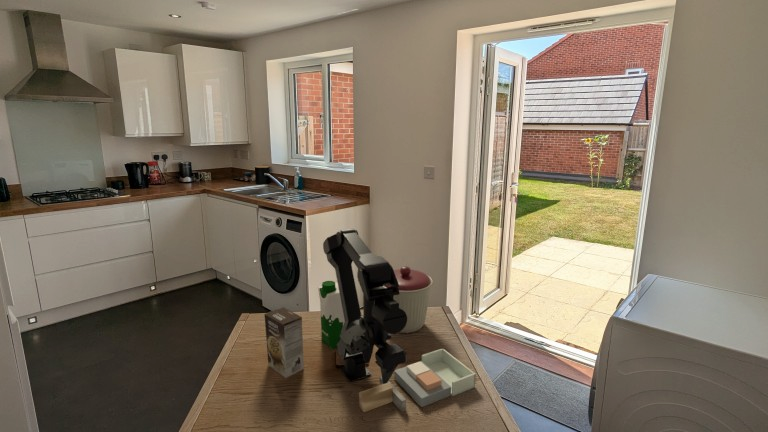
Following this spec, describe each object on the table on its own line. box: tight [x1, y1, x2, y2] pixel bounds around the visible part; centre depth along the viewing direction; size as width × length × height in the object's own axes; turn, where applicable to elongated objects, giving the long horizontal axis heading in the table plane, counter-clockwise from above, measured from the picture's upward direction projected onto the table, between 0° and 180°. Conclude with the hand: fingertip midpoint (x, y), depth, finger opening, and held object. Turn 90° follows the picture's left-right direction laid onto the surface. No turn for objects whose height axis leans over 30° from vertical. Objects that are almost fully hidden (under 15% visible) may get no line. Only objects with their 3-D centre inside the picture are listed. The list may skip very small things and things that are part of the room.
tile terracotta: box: [417, 371, 442, 391], centre depth 106 cm, size 4×4×2 cm
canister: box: [381, 266, 434, 334], centre depth 138 cm, size 18×18×21 cm
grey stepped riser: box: [393, 360, 452, 408], centre depth 108 cm, size 13×9×2 cm
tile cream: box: [405, 360, 430, 380], centre depth 110 cm, size 4×4×2 cm
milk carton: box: [317, 280, 345, 350], centre depth 128 cm, size 9×9×20 cm
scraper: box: [358, 375, 407, 413], centre depth 102 cm, size 11×9×4 cm
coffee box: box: [263, 306, 305, 379], centre depth 115 cm, size 9×6×16 cm
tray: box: [421, 348, 476, 397], centre depth 112 cm, size 14×7×4 cm, turn 29°
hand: (375, 372), depth 100 cm, fingers open, 9 cm apart
